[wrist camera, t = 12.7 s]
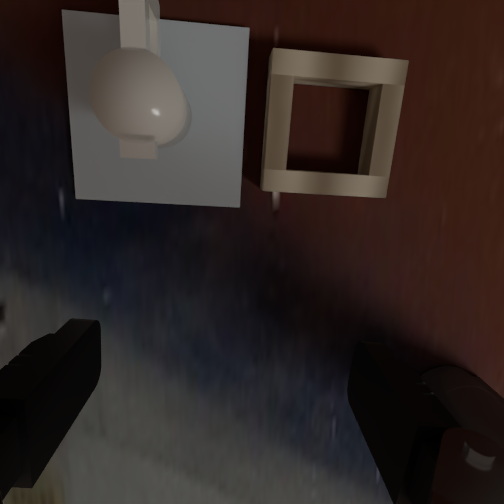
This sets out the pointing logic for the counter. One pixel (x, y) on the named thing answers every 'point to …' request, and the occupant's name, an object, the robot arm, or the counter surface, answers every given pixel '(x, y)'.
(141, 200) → the pad
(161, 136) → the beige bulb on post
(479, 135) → the counter surface
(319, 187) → the frame
